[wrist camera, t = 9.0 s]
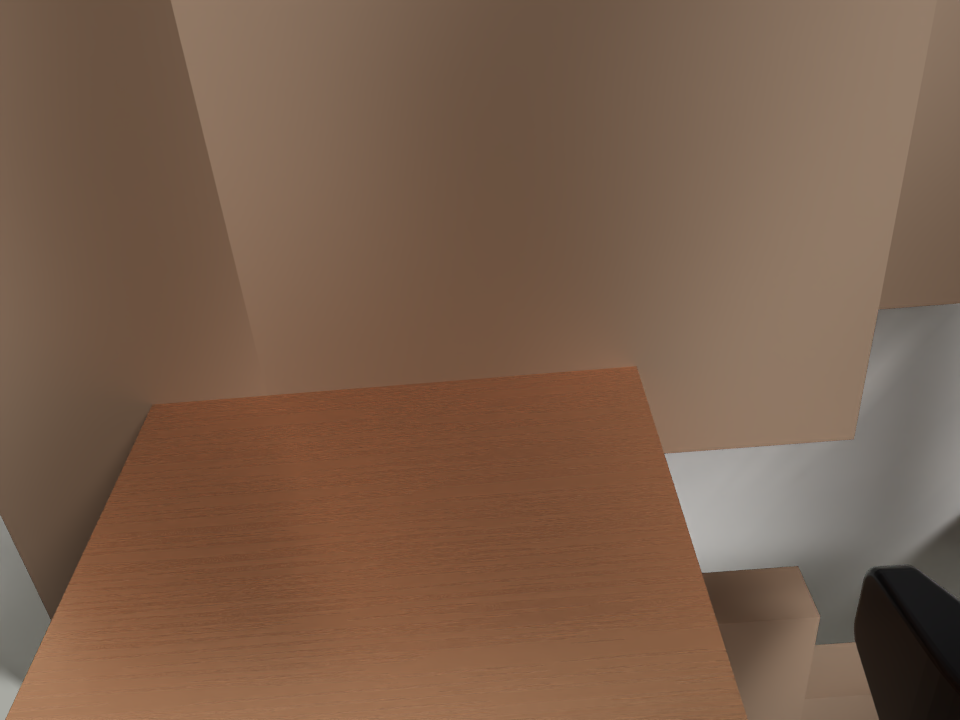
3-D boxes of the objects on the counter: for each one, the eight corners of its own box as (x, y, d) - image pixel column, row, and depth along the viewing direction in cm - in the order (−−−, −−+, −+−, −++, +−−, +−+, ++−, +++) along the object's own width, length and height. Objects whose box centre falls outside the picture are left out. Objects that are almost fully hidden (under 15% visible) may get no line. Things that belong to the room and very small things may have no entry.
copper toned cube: (594, 503, 14) (739, 1236, 7) (292, 526, 14) (138, 1274, 7) (591, 224, 11) (814, 935, 4) (222, 253, 11) (-127, 1001, 4)
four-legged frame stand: (1364, -239, 11) (2045, -246, 6) (1063, 552, 18) (1277, 824, 13) (29, -124, 11) (-269, -49, 6) (252, 611, 18) (185, 899, 14)
